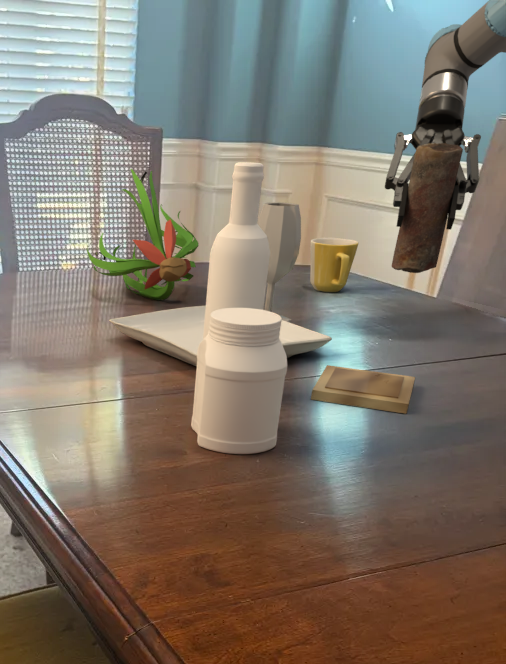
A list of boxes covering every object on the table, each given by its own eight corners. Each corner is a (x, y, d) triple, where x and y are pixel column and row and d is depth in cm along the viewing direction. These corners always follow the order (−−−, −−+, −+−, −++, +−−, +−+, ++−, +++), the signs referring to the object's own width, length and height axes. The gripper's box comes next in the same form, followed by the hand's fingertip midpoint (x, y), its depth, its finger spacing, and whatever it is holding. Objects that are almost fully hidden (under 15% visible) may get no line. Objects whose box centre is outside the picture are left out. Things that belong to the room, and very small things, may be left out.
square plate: (207, 382, 115) (209, 357, 113) (105, 339, 135) (106, 316, 133) (331, 356, 128) (335, 333, 126) (222, 320, 148) (224, 300, 146)
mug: (301, 284, 179) (308, 236, 174) (346, 286, 178) (354, 238, 173) (307, 297, 168) (315, 246, 162) (355, 299, 167) (364, 248, 161)
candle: (441, 271, 136) (468, 143, 126) (430, 277, 130) (458, 145, 121) (397, 266, 139) (420, 142, 130) (385, 272, 134) (408, 144, 124)
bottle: (224, 408, 106) (249, 166, 91) (186, 392, 111) (204, 161, 96) (265, 397, 110) (295, 164, 95) (226, 382, 115) (249, 160, 100)
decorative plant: (136, 341, 154) (79, 303, 177) (244, 306, 160) (175, 273, 183) (117, 205, 138) (58, 182, 161) (238, 171, 144) (164, 154, 167)
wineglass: (234, 322, 147) (246, 203, 137) (262, 315, 152) (276, 200, 142) (270, 331, 142) (286, 208, 131) (299, 324, 147) (316, 205, 136)
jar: (188, 419, 102) (197, 303, 94) (260, 420, 102) (275, 304, 95) (201, 454, 92) (213, 328, 84) (280, 454, 92) (299, 329, 85)
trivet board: (413, 386, 116) (415, 375, 115) (406, 414, 105) (409, 402, 104) (325, 374, 120) (327, 363, 119) (310, 399, 109) (312, 388, 109)
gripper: (497, 129, 134) (484, 241, 129) (377, 126, 139) (359, 233, 134) (510, 93, 127) (497, 210, 122) (383, 92, 132) (364, 203, 127)
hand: (425, 222), depth 128 cm, fingers closed on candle, 7 cm apart
